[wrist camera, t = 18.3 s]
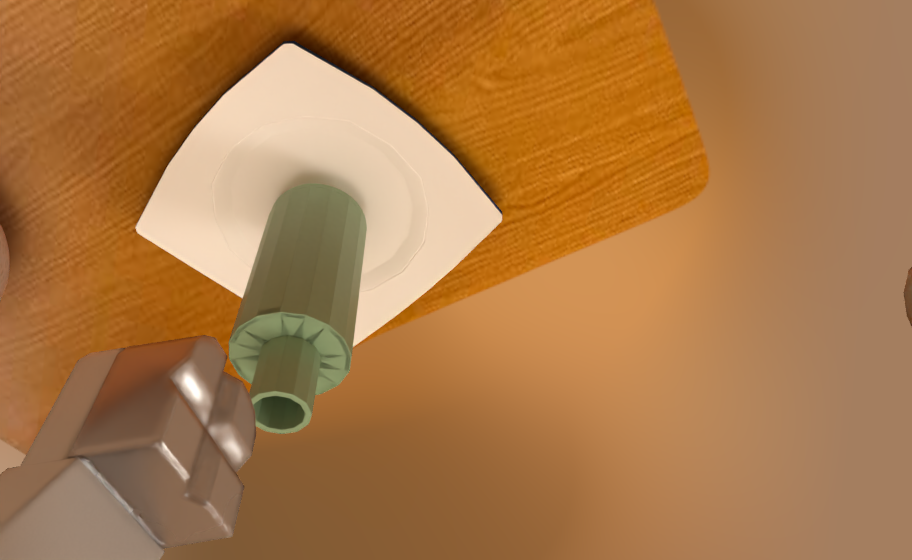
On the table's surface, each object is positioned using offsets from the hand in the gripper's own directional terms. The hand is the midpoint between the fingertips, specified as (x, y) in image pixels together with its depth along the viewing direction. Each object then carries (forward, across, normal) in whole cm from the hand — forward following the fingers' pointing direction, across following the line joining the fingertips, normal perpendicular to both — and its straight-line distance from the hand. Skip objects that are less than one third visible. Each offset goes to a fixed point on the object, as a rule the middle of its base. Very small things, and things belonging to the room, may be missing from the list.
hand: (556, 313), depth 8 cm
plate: (+37, +14, +20) cm, 45 cm away
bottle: (+34, +14, +20) cm, 42 cm away
